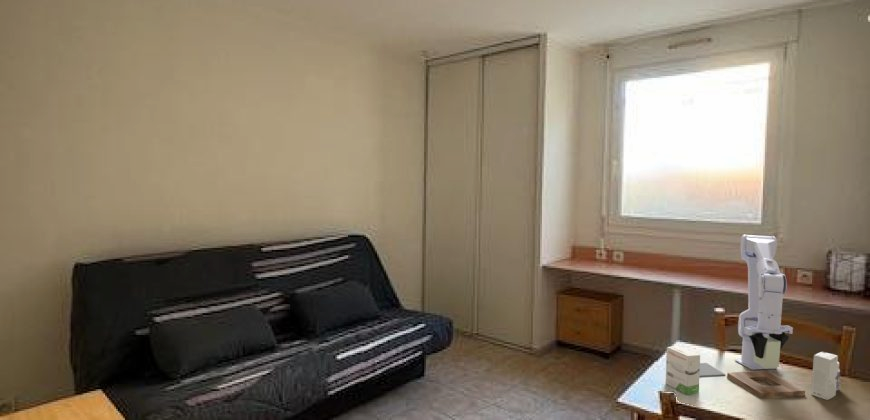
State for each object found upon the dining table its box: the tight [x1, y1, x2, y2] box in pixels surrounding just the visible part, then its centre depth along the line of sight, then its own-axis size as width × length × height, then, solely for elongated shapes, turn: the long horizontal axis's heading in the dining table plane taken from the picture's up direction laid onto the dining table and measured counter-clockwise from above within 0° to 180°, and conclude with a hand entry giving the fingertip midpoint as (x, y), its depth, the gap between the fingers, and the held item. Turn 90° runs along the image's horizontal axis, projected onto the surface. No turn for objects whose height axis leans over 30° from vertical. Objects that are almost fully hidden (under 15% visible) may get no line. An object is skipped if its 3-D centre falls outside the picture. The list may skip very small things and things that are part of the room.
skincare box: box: [810, 351, 839, 401], centre depth 145 cm, size 6×4×12 cm
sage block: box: [754, 336, 781, 368], centre depth 150 cm, size 4×4×8 cm
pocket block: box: [726, 370, 806, 399], centre depth 151 cm, size 14×14×2 cm
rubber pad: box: [699, 362, 726, 378], centre depth 162 cm, size 9×9×1 cm
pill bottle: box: [836, 361, 841, 391], centre depth 150 cm, size 5×5×8 cm
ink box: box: [665, 345, 701, 396], centre depth 149 cm, size 9×5×12 cm, turn 20°
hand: (766, 356), depth 150 cm, fingers closed on sage block, 4 cm apart
